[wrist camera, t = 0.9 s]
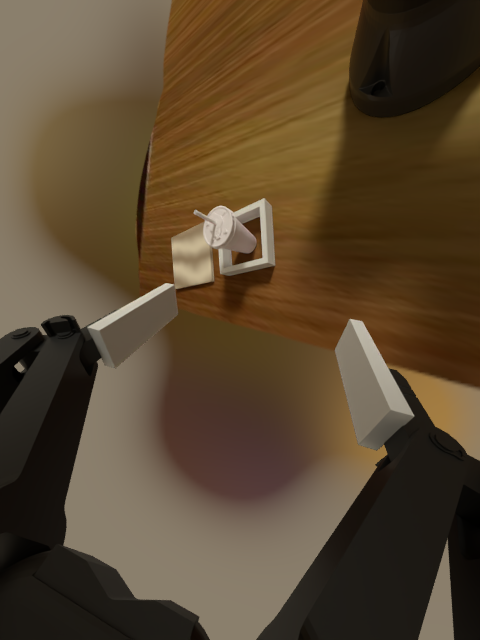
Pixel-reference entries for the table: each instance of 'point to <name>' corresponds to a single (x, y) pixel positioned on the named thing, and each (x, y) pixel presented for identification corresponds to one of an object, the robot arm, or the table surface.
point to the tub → (265, 214)
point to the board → (192, 258)
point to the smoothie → (226, 231)
